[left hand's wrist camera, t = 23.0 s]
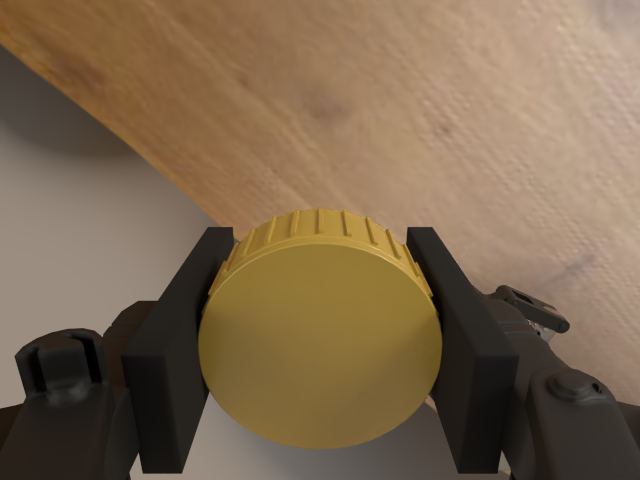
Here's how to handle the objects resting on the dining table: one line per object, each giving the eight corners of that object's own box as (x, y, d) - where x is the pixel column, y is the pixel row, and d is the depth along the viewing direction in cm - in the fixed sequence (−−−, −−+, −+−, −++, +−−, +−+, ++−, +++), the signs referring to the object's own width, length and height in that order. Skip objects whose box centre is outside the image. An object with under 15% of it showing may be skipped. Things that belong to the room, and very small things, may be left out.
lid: (444, 360, 13) (469, 420, 11) (259, 409, 13) (248, 475, 11) (394, 176, 11) (412, 203, 9) (181, 243, 11) (149, 285, 9)
